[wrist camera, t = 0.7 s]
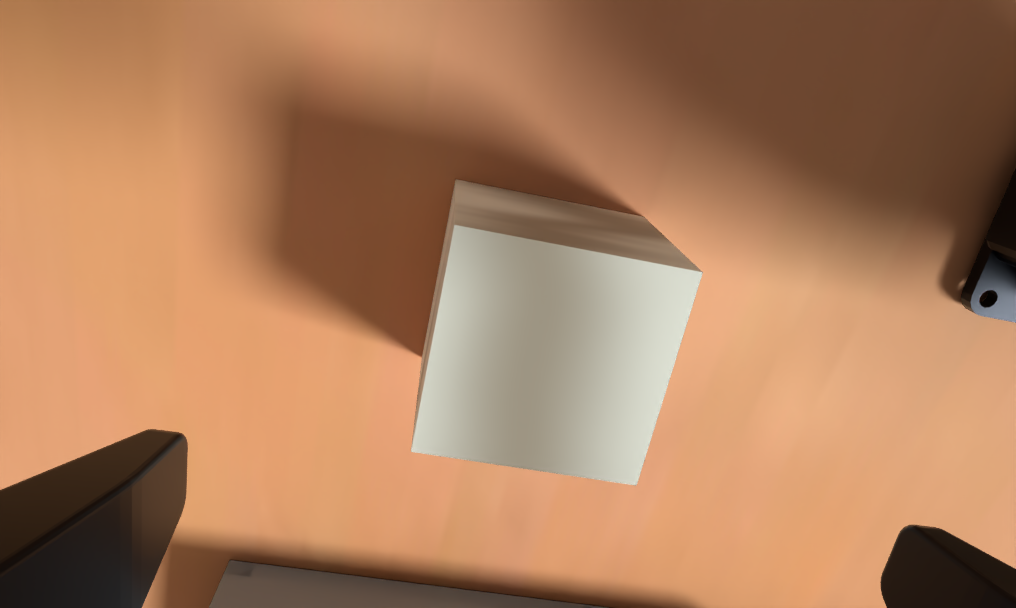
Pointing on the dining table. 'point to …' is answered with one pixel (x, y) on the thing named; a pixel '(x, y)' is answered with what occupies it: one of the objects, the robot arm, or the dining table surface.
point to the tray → (349, 592)
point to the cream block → (550, 335)
